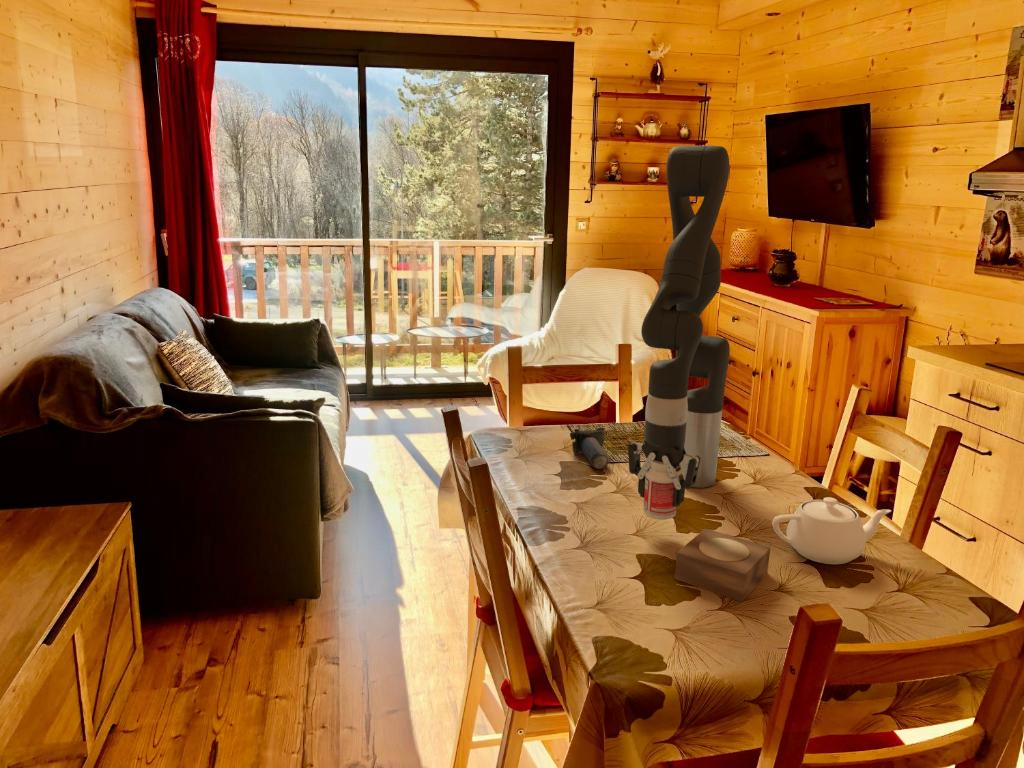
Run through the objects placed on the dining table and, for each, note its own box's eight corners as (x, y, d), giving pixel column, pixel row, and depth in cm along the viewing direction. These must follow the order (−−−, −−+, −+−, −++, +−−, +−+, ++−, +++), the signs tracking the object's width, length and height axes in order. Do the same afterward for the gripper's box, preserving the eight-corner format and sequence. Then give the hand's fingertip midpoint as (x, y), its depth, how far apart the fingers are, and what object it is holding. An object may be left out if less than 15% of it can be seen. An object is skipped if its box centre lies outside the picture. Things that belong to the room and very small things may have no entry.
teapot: (783, 571, 142) (790, 515, 139) (756, 536, 155) (761, 484, 152) (903, 570, 144) (913, 514, 141) (866, 535, 157) (874, 484, 154)
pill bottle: (682, 515, 153) (687, 461, 150) (658, 523, 150) (662, 468, 146) (659, 503, 158) (663, 451, 154) (636, 511, 154) (639, 457, 151)
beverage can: (572, 458, 198) (588, 479, 187) (568, 430, 195) (584, 449, 184) (607, 449, 199) (624, 469, 188) (603, 421, 197) (621, 440, 186)
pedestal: (703, 553, 148) (705, 527, 146) (767, 573, 141) (770, 546, 140) (674, 578, 139) (676, 551, 137) (742, 601, 132) (745, 573, 130)
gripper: (711, 420, 147) (703, 504, 152) (640, 404, 155) (635, 484, 160) (694, 431, 141) (687, 518, 146) (621, 414, 149) (617, 497, 154)
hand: (660, 500), depth 153 cm, fingers closed on pill bottle, 6 cm apart
